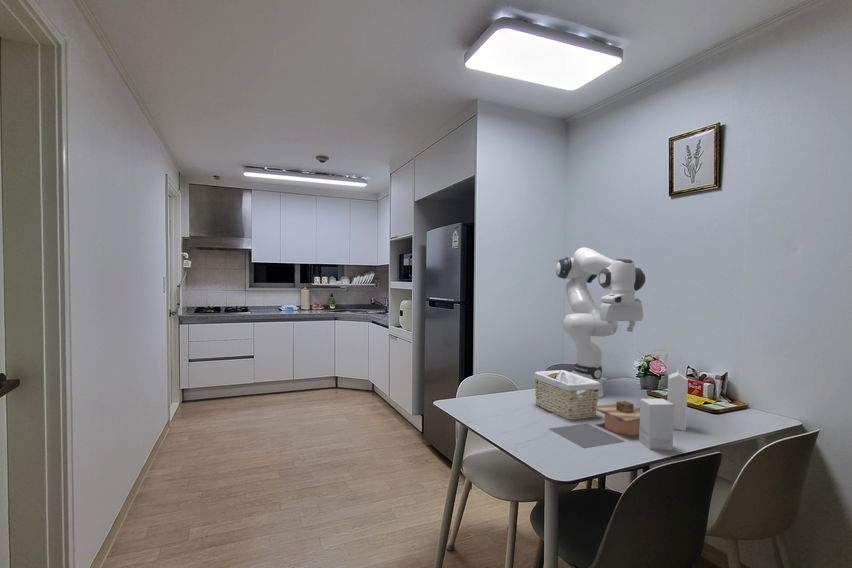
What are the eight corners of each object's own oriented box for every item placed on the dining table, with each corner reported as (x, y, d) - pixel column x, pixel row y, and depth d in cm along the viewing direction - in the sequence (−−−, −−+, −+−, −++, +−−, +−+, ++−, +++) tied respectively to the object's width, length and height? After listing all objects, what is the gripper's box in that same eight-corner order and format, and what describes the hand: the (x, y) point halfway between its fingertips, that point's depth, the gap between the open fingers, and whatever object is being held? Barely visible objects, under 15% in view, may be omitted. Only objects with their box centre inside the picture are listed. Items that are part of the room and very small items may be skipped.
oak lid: (591, 408, 159) (592, 398, 159) (623, 405, 165) (623, 395, 165) (626, 423, 144) (626, 411, 144) (659, 418, 150) (659, 407, 150)
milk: (667, 428, 157) (669, 370, 157) (666, 423, 163) (668, 367, 162) (686, 431, 155) (688, 372, 154) (684, 426, 160) (686, 368, 160)
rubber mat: (548, 430, 151) (548, 428, 151) (586, 425, 158) (587, 423, 158) (583, 450, 135) (583, 448, 135) (625, 443, 141) (625, 441, 141)
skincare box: (661, 443, 142) (663, 398, 142) (673, 451, 135) (675, 404, 135) (637, 443, 142) (639, 397, 141) (648, 451, 135) (650, 403, 135)
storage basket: (531, 404, 183) (532, 370, 183) (562, 401, 188) (563, 368, 188) (567, 422, 160) (568, 384, 160) (601, 418, 166) (602, 382, 166)
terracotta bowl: (596, 425, 158) (597, 409, 158) (622, 421, 163) (623, 406, 163) (625, 438, 146) (625, 421, 146) (652, 434, 151) (652, 417, 151)
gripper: (635, 298, 178) (633, 330, 178) (597, 297, 170) (596, 331, 170) (647, 298, 172) (646, 332, 172) (609, 298, 164) (608, 333, 164)
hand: (621, 331), depth 171 cm, fingers open, 8 cm apart
